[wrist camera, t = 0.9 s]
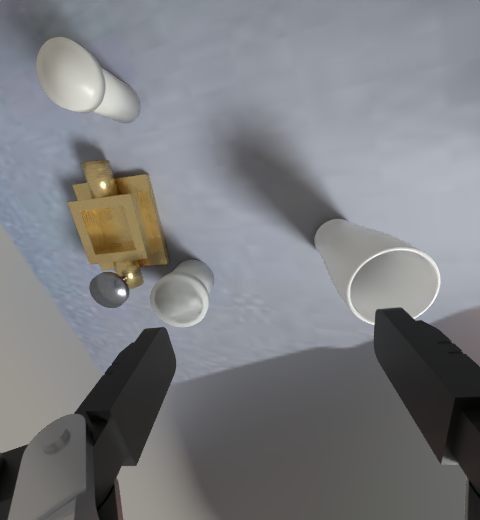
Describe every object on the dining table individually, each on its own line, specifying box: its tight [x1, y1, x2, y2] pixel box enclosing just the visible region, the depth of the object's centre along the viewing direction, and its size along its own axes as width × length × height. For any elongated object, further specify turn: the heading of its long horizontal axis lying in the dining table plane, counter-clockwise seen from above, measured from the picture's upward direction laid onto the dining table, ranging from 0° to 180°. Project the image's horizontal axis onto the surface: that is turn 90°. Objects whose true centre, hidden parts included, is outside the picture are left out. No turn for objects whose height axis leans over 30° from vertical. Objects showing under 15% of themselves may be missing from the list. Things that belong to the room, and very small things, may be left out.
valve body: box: [68, 160, 170, 308], centre depth 30 cm, size 17×10×8 cm, turn 7°
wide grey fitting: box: [150, 259, 214, 327], centre depth 32 cm, size 7×7×7 cm
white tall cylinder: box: [315, 219, 440, 325], centre depth 25 cm, size 7×7×15 cm
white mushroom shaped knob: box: [36, 37, 140, 123], centre depth 24 cm, size 5×5×9 cm
